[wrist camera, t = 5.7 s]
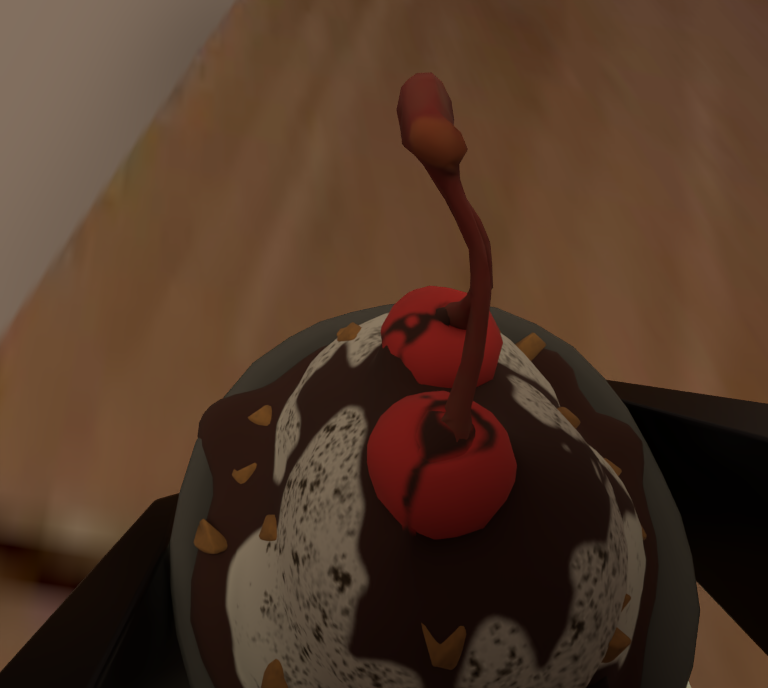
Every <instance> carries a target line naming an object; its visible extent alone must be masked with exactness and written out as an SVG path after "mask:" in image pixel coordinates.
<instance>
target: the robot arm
mask: <svg viewBox="0 0 768 688" xmlns="http://www.w3.org/2000/svg"><path fill="white" fill-rule="evenodd" d="M606 381H607V382H608V384H609V385H610V386H611V387H612V389H613V390H614V391H615V393H616V394H617V395H618V397H619V398H620V399H621V400H622V402H623V403H624V404H625V406H626V407H627V408H628V410H629V412H630V414H631V415H632V417H633V419H634V421H635V423H636V424H637V426H638V428H639V430H640V432H641V433H642V435H643V437H644V439H645V441H646V442H647V444H648V446H649V448H650V450H651V452H652V454H653V456H654V458H655V460H656V462H657V464H658V466H659V468H660V470H661V472H662V474H663V476H664V478H665V481H666V483H667V485H668V487H669V490H670V492H671V494H672V496H673V498H674V501H675V503H676V505H677V507H678V510H679V512H680V514H681V517H682V521H683V524H684V528H685V532H686V535H687V539H688V543H689V546H690V550H691V553H692V557H693V564H694V571H695V578H696V581H697V582H698V583H699V584H700V586H701V587H702V588H703V589H704V590H705V591H706V592H707V593H708V594H709V595H710V596H711V597H712V598H713V599H714V600H715V601H716V602H717V603H718V604H719V605H720V606H721V607H722V609H723V610H724V611H725V612H726V613H727V614H728V615H729V616H730V617H731V618H732V619H733V620H734V621H735V622H736V623H737V624H738V625H739V626H740V627H741V628H742V629H743V631H744V632H745V633H746V634H747V635H748V636H749V637H750V638H751V639H752V640H753V641H754V642H755V643H756V644H757V645H758V646H759V647H760V648H761V649H762V650H763V651H764V653H765V654H766V655H767V656H768V404H765V403H759V402H752V401H745V400H738V399H732V398H725V397H718V396H712V395H705V394H698V393H691V392H685V391H678V390H671V389H664V388H658V387H651V386H644V385H638V384H631V383H624V382H617V381H611V380H606ZM178 498H179V494H174V495H170V496H167V497H163V498H160V499H157V500H155V501H154V502H153V503H152V504H151V505H150V506H149V507H148V508H147V509H146V511H145V512H144V513H143V514H142V515H141V516H140V517H139V518H138V519H137V521H136V522H135V523H134V524H133V525H132V526H131V527H130V528H129V530H128V531H127V532H126V533H125V534H124V535H123V536H122V537H121V538H120V540H119V541H118V542H117V543H116V544H115V545H114V546H113V547H112V548H111V550H110V551H109V552H108V553H107V554H106V555H105V556H104V557H103V558H102V560H101V561H100V562H99V563H98V564H97V565H96V566H95V567H94V568H93V570H92V571H91V572H90V573H89V574H88V575H87V576H86V577H85V578H84V580H83V581H82V582H81V583H80V584H79V585H78V586H77V587H76V588H75V590H74V591H73V592H72V593H71V594H70V595H69V596H68V597H67V598H66V600H65V601H64V602H63V603H62V604H61V605H60V606H59V607H58V608H57V610H56V611H55V612H54V613H53V614H52V615H51V616H50V617H49V618H48V620H47V621H46V622H45V623H44V624H43V625H42V626H41V627H40V629H39V630H38V631H37V632H36V633H35V634H34V635H33V636H32V637H31V639H30V640H29V641H28V642H27V643H26V644H25V645H24V646H23V647H22V649H21V650H20V651H19V652H18V653H17V654H16V655H15V656H14V657H13V658H12V660H11V661H10V662H9V663H8V664H7V665H6V666H5V667H4V668H3V670H2V671H1V672H0V688H191V687H190V685H189V681H188V677H187V674H186V670H185V666H184V662H183V658H182V654H181V650H180V647H179V643H178V639H177V635H176V628H175V620H174V612H173V604H172V596H171V589H170V539H171V534H172V529H173V523H174V518H175V513H176V508H177V503H178Z"/></svg>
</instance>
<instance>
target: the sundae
mask: <svg viewBox="0 0 768 688" xmlns="http://www.w3.org/2000/svg"><path fill="white" fill-rule="evenodd" d="M397 115H398V120H399V124H400V130H401V138H402V144H403V146H404V147H405V148H406V149H408V150H409V151H410V152H411V153H412V154H414V155H415V156H416V157H417V158H418V160H419V161H420V162H421V163H422V164H423V165H424V167H425V169H426V170H427V172H428V173H429V175H430V177H431V178H432V180H433V182H434V183H435V185H436V186H437V188H438V189H439V191H440V193H441V194H442V196H443V197H444V199H445V201H446V202H447V204H448V206H449V208H450V210H451V212H452V214H453V216H454V218H455V220H456V222H457V224H458V227H459V229H460V231H461V233H462V235H463V238H464V240H465V242H466V244H467V247H468V249H469V259H470V273H471V277H470V289H469V291H468V293H466V292H462V291H458V290H455V289H451V288H446V287H437V286H427V287H423V288H420V289H416V290H413V291H411V292H409V293H407V294H406V295H405V296H404V297H403V298H401V299H400V300H399V301H398V302H397V303H396V304H390V305H383V306H378V307H374V308H369V309H364V310H360V311H355V312H351V313H347V314H344V315H341V316H337V317H334V318H331V319H327V320H324V321H321V322H318V323H316V324H314V325H313V326H311V327H309V328H307V329H305V330H303V331H301V332H299V333H297V334H295V335H293V336H291V337H289V338H288V339H286V340H285V341H283V342H282V343H281V344H279V345H278V346H276V347H275V348H273V349H272V350H271V351H269V352H268V353H266V354H265V355H263V356H262V357H260V358H259V359H258V360H256V361H255V362H253V363H252V365H251V366H250V367H249V368H248V369H247V370H246V372H245V373H244V374H243V375H242V376H241V378H240V379H239V380H238V381H237V382H236V383H235V385H234V386H233V387H232V388H231V389H230V390H229V392H228V393H227V394H226V395H225V396H224V398H223V399H220V400H219V401H217V402H216V403H214V404H213V405H211V406H210V407H209V408H208V409H207V410H206V411H205V413H204V414H203V416H202V418H201V420H200V422H199V429H198V439H197V441H196V443H195V446H194V449H193V452H192V455H191V458H190V461H189V465H188V468H187V471H186V474H185V477H184V480H183V483H182V486H181V489H180V493H179V498H178V503H177V508H176V513H175V518H174V523H173V529H172V534H171V539H170V589H171V596H172V604H173V612H174V620H175V628H176V635H177V639H178V643H179V647H180V650H181V654H182V658H183V662H184V666H185V670H186V674H187V677H188V681H189V685H190V687H191V688H686V687H687V684H688V681H689V677H690V674H691V671H692V668H693V662H694V655H695V647H696V639H697V631H698V624H699V616H700V606H699V599H698V592H697V585H696V578H695V571H694V564H693V557H692V553H691V550H690V546H689V543H688V539H687V535H686V532H685V528H684V524H683V521H682V517H681V514H680V512H679V510H678V507H677V505H676V503H675V501H674V498H673V496H672V494H671V492H670V490H669V487H668V485H667V483H666V481H665V478H664V476H663V474H662V472H661V470H660V468H659V466H658V464H657V462H656V460H655V458H654V456H653V454H652V452H651V450H650V448H649V446H648V444H647V442H646V441H645V439H644V437H643V435H642V433H641V432H640V430H639V428H638V426H637V424H636V423H635V421H634V419H633V417H632V415H631V414H630V412H629V410H628V408H627V407H626V406H625V404H624V403H623V402H622V400H621V399H620V398H619V397H618V395H617V394H616V393H615V391H614V390H613V389H612V387H611V386H610V385H609V384H608V382H607V381H606V380H605V378H604V377H603V376H602V375H601V374H600V373H599V372H598V371H597V370H596V369H595V368H594V367H593V366H592V365H591V364H590V363H589V362H588V361H587V360H586V359H585V358H584V357H583V356H582V355H581V354H580V353H579V352H578V351H577V350H576V349H575V348H574V347H573V346H571V345H570V344H568V343H566V342H565V341H563V340H561V339H560V338H558V337H556V336H555V335H553V334H552V333H550V332H548V331H547V330H545V329H543V328H542V327H540V326H538V325H537V324H535V323H532V322H530V321H527V320H525V319H523V318H520V317H518V316H515V315H513V314H510V313H508V312H506V311H503V310H501V309H498V308H495V307H490V300H491V289H492V288H493V276H492V258H491V246H490V241H489V238H488V236H487V234H486V231H485V229H484V227H483V224H482V222H481V220H480V218H479V217H478V215H477V214H476V212H475V211H474V209H473V207H472V206H471V204H470V203H469V201H468V200H467V198H466V196H465V193H464V190H463V187H462V184H461V181H460V171H459V164H460V162H461V160H462V159H463V157H464V155H465V153H466V152H467V150H468V149H467V146H466V144H465V141H464V139H463V136H462V134H461V132H460V131H459V130H458V129H456V128H455V127H454V116H453V109H452V102H451V100H450V97H449V95H448V93H447V91H446V89H445V87H444V85H443V83H442V81H440V80H439V79H438V78H437V77H436V76H435V75H434V74H433V73H416V74H415V75H414V76H412V77H411V78H409V79H408V80H407V81H406V82H405V84H404V85H403V86H402V87H401V91H400V96H399V101H398V105H397Z"/></svg>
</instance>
